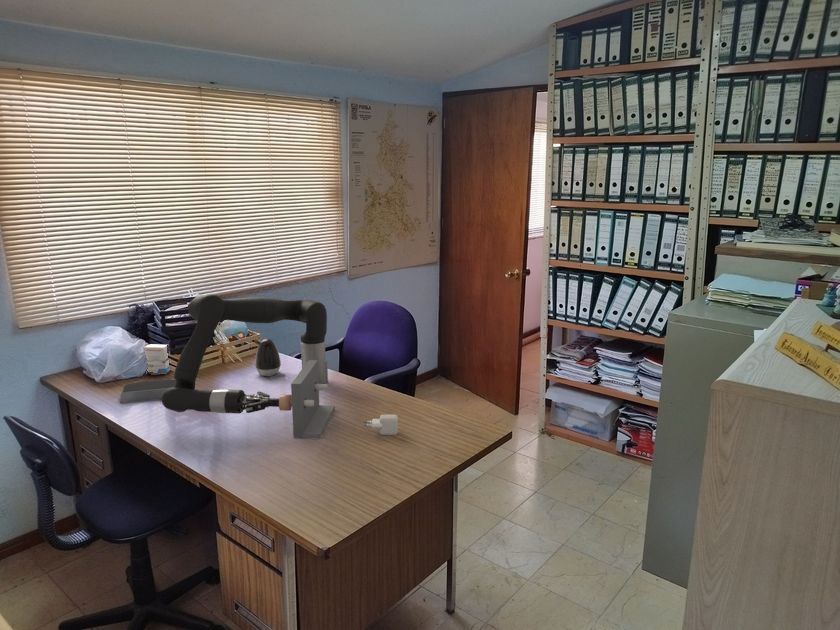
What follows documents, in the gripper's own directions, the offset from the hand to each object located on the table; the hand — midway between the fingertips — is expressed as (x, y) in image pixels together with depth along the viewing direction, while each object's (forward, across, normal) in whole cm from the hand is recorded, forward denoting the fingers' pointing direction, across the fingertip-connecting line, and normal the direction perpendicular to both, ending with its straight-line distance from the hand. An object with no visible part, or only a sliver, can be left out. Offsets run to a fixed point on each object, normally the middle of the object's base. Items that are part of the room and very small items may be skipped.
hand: (281, 402), depth 191 cm
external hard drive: (-58, +29, +11) cm, 66 cm away
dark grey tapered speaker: (-21, +55, +10) cm, 60 cm away
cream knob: (+7, +15, +2) cm, 17 cm away
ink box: (-67, +54, +10) cm, 86 cm away
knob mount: (+9, +8, +10) cm, 15 cm away
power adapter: (+32, +1, +10) cm, 33 cm away
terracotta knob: (+5, 0, +2) cm, 6 cm away
